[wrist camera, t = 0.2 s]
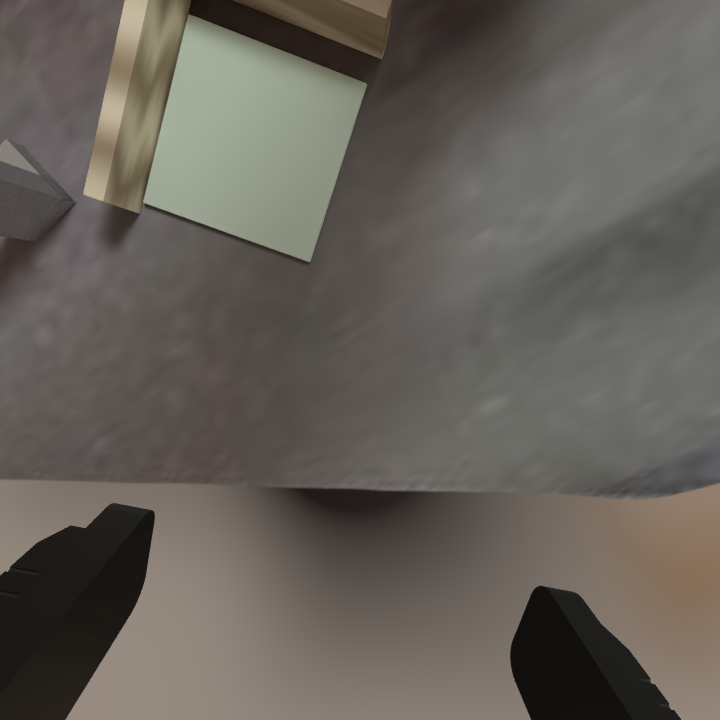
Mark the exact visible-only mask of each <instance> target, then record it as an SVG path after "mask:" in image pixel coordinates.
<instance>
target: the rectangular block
mask: <svg viewBox="0 0 720 720" xmlns="http://www.w3.org/2000/svg"><path fill="white" fill-rule="evenodd" d="M75 203H76V202H75V201H74V200H73V199H72V198H71V197H70V196H69V195H68V194H67V193H66V191H65V190H64V189H63V188H62V187H61V186H60V185H59V184H58V183H57V182H56V181H55V180H54V179H53V178H52V176H51V175H50V174H49V173H48V172H47V171H46V170H45V169H44V168H43V167H42V166H41V165H40V164H39V163H38V162H37V160H36V159H35V158H34V157H33V156H32V155H31V154H30V153H29V152H28V151H27V150H26V149H25V148H24V147H23V146H22V145H20V144H17V143H15V142H12V141H10V140H8V139H6V140H5V141H4V142H3V143H2V144H1V145H0V236H1V237H8V238H15V239H22V240H29V241H36V242H38V241H39V240H40V239H41V238H42V237H43V236H44V235H45V234H46V233H47V232H48V231H49V230H50V229H51V228H52V227H53V226H54V225H55V224H56V223H57V222H58V221H59V220H60V219H61V218H62V217H63V215H64V214H65V213H66V212H67V211H68V210H69V209H70V208H71V207H72V206H73V205H74V204H75Z"/></svg>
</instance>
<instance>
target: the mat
mask: <svg viewBox="0 0 720 720" xmlns="http://www.w3.org/2000/svg"><path fill="white" fill-rule="evenodd" d="M366 87H367V83H364V82H362V81H359V80H356V79H354V78H351V77H349V76H346V75H344V74H341V73H339V72H336V71H333V70H331V69H328V68H326V67H323V66H321V65H318V64H315V63H313V62H310V61H308V60H305V59H303V58H300V57H298V56H295V55H292V54H290V53H287V52H285V51H282V50H280V49H277V48H274V47H272V46H269V45H267V44H264V43H262V42H259V41H257V40H254V39H251V38H249V37H246V36H244V35H241V34H239V33H236V32H234V31H231V30H228V29H226V28H223V27H221V26H218V25H216V24H213V23H210V22H208V21H205V20H203V19H200V18H198V17H195V16H193V15H190V14H188V18H187V22H186V26H185V30H184V34H183V39H182V43H181V47H180V51H179V55H178V59H177V64H176V68H175V72H174V76H173V80H172V84H171V88H170V93H169V97H168V101H167V105H166V109H165V113H164V118H163V122H162V126H161V130H160V134H159V138H158V142H157V147H156V151H155V155H154V159H153V163H152V167H151V172H150V176H149V180H148V184H147V188H146V192H145V196H144V201H143V203H146V204H148V205H151V206H154V207H157V208H159V209H162V210H165V211H168V212H171V213H173V214H176V215H179V216H182V217H185V218H187V219H190V220H193V221H196V222H199V223H201V224H204V225H207V226H210V227H212V228H215V229H218V230H221V231H224V232H226V233H229V234H232V235H235V236H238V237H240V238H243V239H246V240H249V241H252V242H254V243H257V244H260V245H263V246H265V247H268V248H271V249H274V250H277V251H279V252H282V253H285V254H288V255H291V256H293V257H296V258H299V259H302V260H304V261H307V262H311V259H312V256H313V253H314V250H315V247H316V244H317V240H318V237H319V234H320V231H321V228H322V225H323V222H324V219H325V215H326V212H327V209H328V206H329V203H330V200H331V197H332V194H333V190H334V187H335V184H336V181H337V178H338V175H339V172H340V169H341V165H342V162H343V159H344V156H345V153H346V150H347V147H348V144H349V140H350V137H351V134H352V131H353V128H354V125H355V122H356V119H357V116H358V112H359V109H360V106H361V103H362V100H363V97H364V94H365V91H366Z"/></svg>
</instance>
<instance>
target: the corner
mask: <svg viewBox="0 0 720 720" xmlns="http://www.w3.org/2000/svg"><path fill="white" fill-rule="evenodd" d="M233 1H235V2H238V3H240V4H243V5H245V6H248V7H250V8H253V9H255V10H258V11H260V12H263V13H265V14H268V15H271V16H273V17H276V18H278V19H281V20H283V21H286V22H288V23H291V24H293V25H296V26H298V27H301V28H303V29H306V30H309V31H311V32H314V33H316V34H319V35H321V36H324V37H326V38H329V39H331V40H334V41H336V42H339V43H341V44H344V45H346V46H349V47H352V48H354V49H357V50H359V51H362V52H364V53H367V54H369V55H372V56H374V57H377V58H379V59H382V58H383V55H384V52H385V48H386V45H387V42H388V38H389V29H390V20H391V12H392V3H393V0H233ZM190 4H191V0H125V2H124V7H123V12H122V16H121V21H120V26H119V30H118V35H117V40H116V44H115V49H114V54H113V58H112V63H111V68H110V72H109V77H108V82H107V86H106V91H105V96H104V100H103V105H102V110H101V114H100V119H99V124H98V128H97V133H96V138H95V142H94V147H93V152H92V156H91V161H90V166H89V170H88V175H87V179H86V184H85V189H84V193H83V194H84V195H87V196H89V197H92V198H95V199H98V200H101V201H103V202H106V203H109V204H112V205H115V206H118V207H121V208H124V209H127V210H130V211H133V212H136V213H139V214H140V212H141V208H142V203H143V199H144V195H145V191H146V187H147V183H148V178H149V174H150V170H151V166H152V162H153V158H154V154H155V149H156V145H157V141H158V137H159V133H160V129H161V124H162V120H163V116H164V112H165V108H166V104H167V99H168V95H169V91H170V87H171V83H172V79H173V75H174V70H175V66H176V62H177V58H178V54H179V50H180V45H181V41H182V37H183V33H184V29H185V25H186V21H187V16H188V12H189V8H190Z"/></svg>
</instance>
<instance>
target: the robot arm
mask: <svg viewBox="0 0 720 720" xmlns="http://www.w3.org/2000/svg"><path fill="white" fill-rule="evenodd" d="M154 519H155V514H154V511H152V510H148V509H142V508H137V507H132V506H127V505H121V504H116V503H113V504H110V505H109V506H108V507H107V508H105V509H104V511H102V512H101V513H100V514H99V515H98V516H97V517H96V518H95V519H94V520H93V521H92V523H90V524H89V525H88V526H87V527H86V528H81V527H76V526H69V527H67V528H65V529H63V530H61V531H59V532H57V533H55V534H53V535H51V536H50V537H47V538H46V539H44V540H42V541H40V542H38V543H36V544H35V545H34V546H33V547H32V548H31V549H30V550H29V551H27V552H26V553H25V554H24V555H23V556H22V557H21V558H20V559H18V560H17V561H16V562H15V563H14V564H13V565H12V566H11V567H10V569H9V571H8V572H6V571H5V572H4V573H3V574H2V575H0V720H65V719H66V718H67V716H68V714H69V713H70V711H71V710H72V708H73V706H74V705H75V703H76V701H77V700H78V698H79V697H80V695H81V693H82V692H83V690H84V689H85V687H86V685H87V684H88V682H89V681H90V679H91V677H92V676H93V674H94V672H95V671H96V669H97V667H98V666H99V664H100V663H101V661H102V660H103V658H104V656H105V655H106V653H107V651H108V650H109V648H110V647H111V645H112V643H113V642H114V640H115V638H116V637H117V635H118V634H119V632H120V630H121V629H122V627H123V626H124V624H125V622H126V621H127V619H128V618H129V616H130V614H131V612H132V611H133V609H134V607H135V605H136V603H137V601H138V598H139V596H140V593H141V590H142V588H143V584H144V581H145V577H146V571H147V564H148V558H149V552H150V546H151V539H152V533H153V527H154ZM510 654H511V655H510V660H511V668H512V673H513V677H514V679H515V682H516V684H517V687H518V689H519V692H520V694H521V696H522V699H523V701H524V704H525V706H526V708H527V710H528V713H529V715H530V718H531V720H681V719H680V717H679V716H678V715H677V713H676V712H675V711H674V710H671V709H670V707H669V703H668V701H667V700H666V699H665V697H664V696H663V695H662V693H661V692H660V691H659V690H658V688H657V687H656V685H655V684H651V682H650V677H649V676H648V675H647V673H646V672H645V671H644V670H643V668H642V667H641V665H640V664H639V663H638V662H637V660H636V659H635V657H634V656H633V655H632V653H631V652H630V651H629V650H628V649H627V648H626V647H625V646H624V645H623V644H622V643H621V642H620V641H619V640H618V639H617V638H616V637H615V636H613V635H612V634H611V633H610V632H609V631H608V630H607V629H606V628H605V627H604V626H603V625H601V623H600V622H599V621H598V619H597V618H596V617H595V615H594V614H593V612H592V611H591V610H590V608H589V607H588V606H587V604H586V603H585V602H584V600H583V599H582V598H581V597H580V596H579V595H578V594H577V593H575V592H571V591H565V590H560V589H555V588H550V587H544V586H538V587H536V588H535V589H534V591H533V592H532V594H531V596H530V599H529V601H528V604H527V606H526V609H525V611H524V614H523V616H522V619H521V621H520V624H519V626H518V629H517V631H516V634H515V636H514V639H513V641H512V645H511V652H510Z"/></svg>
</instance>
